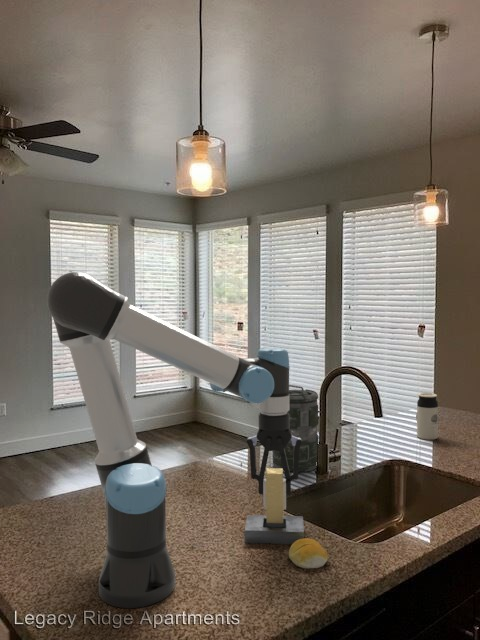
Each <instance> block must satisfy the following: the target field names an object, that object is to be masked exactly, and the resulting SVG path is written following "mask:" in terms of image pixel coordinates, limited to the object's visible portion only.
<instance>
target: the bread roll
mask: <svg viewBox="0 0 480 640" xmlns="http://www.w3.org/2000/svg"><path fill="white" fill-rule="evenodd" d="M288 558H289V559H290V560H291V561H292V563H293V564H294V565H296V566H297V567H300V568H303V569H318V568H319V569H320V568H322V567H323V566H324V565H325V564H326V563H327V561H328V560H329V554H328V552H327V551H326V549H324V548H323V546H322V545H321V544H320V543H319V542H318V541H317V540H316V539H312V538H307V537H306V538H305V537H304V539H299V540H297V541H295V542H294V543H293V544H291V546H290V548H289V550H288Z"/></svg>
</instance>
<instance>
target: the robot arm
mask: <svg viewBox="0 0 480 640" xmlns="http://www.w3.org/2000/svg"><path fill="white" fill-rule="evenodd" d="M46 304H47V309H48V312H49V314H50V315H51V317H52V319H53V323H54V326H55V329H56V333H57V336H58V340H59V343H60V344H61V345H64V346H66V347H68V348H69V351H70V354H71V358H72V362H73V365H74V368H75V372H76V376H77V378H78V383H79V385H80V390H81V393H82V396H83V399H84V404H85V406H86V409H87V414H88V418H89V420H90V424H91V427H92V431H93V434H94V437H95V442H96V445H97V448H98V453H97V455H96V457H95V459H94V463H95V467H96V470H97V474H98V478H99V481H100V485H101V489H102V492H103V497H104V503H105V505H104V506H105V513H106V514H105V518H106V555H105V558H104V562H103V565H102V568H101V571H100V575H99V577H98V595H99V597H100V599H101V600H102V601H103V602H104V603H106V604H108V605H110V606H113V607H117V608H121V609H122V608H123V609H136V608H143V607H149V606H150V605H154V604H156V603H159V602H161V601H162V600H165V599H166V598H167V597H169V596H170V595H171V593H173V591H174V590H175V587H176V572H175V568H174V565H173V563H172V562H173V561H172V560H171V557H170V554H169V550H168V547H167V532H166V531H167V528H166V527H167V526H166V525H167V523H166V522H167V521H166V516H167V514H166V494H167V485H166V484H167V483H166V480H165V479H166V478H165V475H164V473H163V471H162V470H161V469H160V468H158V467H157V466H155V465H152V462H151V461H152V460H151V457H150V454H149V450H148V447H147V444H146V443H145V442H144V441H142V440H140V439H138V437H137V433H136V429H135V426H134V423H133V419H132V416H131V411H130V408H129V406H128V405H129V404H128V402H127V398H126V394H125V390H124V387H123V383H122V379H121V377H120V373H119V368H118V365H117V362H116V358H115V355H114V351H113V346H112V343H111V340H115V341H117V342H119V343H122V344H124V345H126V346H128V347H131V348H132V349H135V350H137V351H139V352H142V353H144V354H146V355H148V356H150V357H152V358H155V359H157V360H158V361H161V362H163V363H166V364H168V365H170V366H172V367H174V368H176V369H179V370H180V371H184V372H186V373H187V374H190V375H192V376H193V377H197V378H199V379H201V380H203V381H205V382H207V383H209V387H210V389H211V391H213V392H220V393H221V392H222V393H226V392H229V393H230V394H233V395H236V396H237V397H240V398H241V399H243V400H244V401H245V402H249V403H254V404H257V405H258V411H259V413H258V431H257V432H256V433H257V434H256V435H254V436H248V437H247V439H246V443H247V446H248V448H249V459H250V462H249V463H250V464H249V465H250V478H251V479H252V480H256V481H258V494H259V495H263V502H262V503H263V505H262V506H263V510H266V478H265V476H266V470H267V463H268V460H269V454H270V452H273V450H275V451H279V452H280V456H281V461H282V466H283V470H284V471H283V476H284V478H283V510H287V496H288V495H289V496H290V495H291V492H292V487H291V486H292V485H291V484H292V481H297V480H298V479H299V471H298V465H299V448H300V446H301V443H302V440H301V438H300V437H298V438H297V437H295V436H292V434H291V432H290V415H289V413H288V411H289V390H290V387H289V385H290V369H291V366H290V357H289V352H288V350H287V349H285V348H282V347H281V348H280V347H279V348H278V347H267V348H266V347H265V348H260V349H258V351H257V354H256V356H255V357H250V358H249V357H246V358H242V357H240V356H238V355H236V354H233V353H232V352H230V351H227V350H225V349H223V348H221V347H220V346H217V345H215V344H213V343H211V342H209V341H207V340H204V339H203V338H201V337H198V336H196V335H194V334H192V333H191V332H188V331H186V330H185V329H182V328H180V327H178V326H176V325H174V324H172V323H170V322H168V321H166V320H163V319H161V318H159V317H158V316H155V315H153V314H151V313H149V312H147V311H146V310H143V309H141V308H139V307H137V306H134V305H133V304H131V303H130V302H129V299H128V296H125V295H123V294H121V293H120V292H118V291H116V290H114V289H112V288H111V287H109V286H107V285H106V284H105V283H103V282H102V281H100V280H99V279H97V278H96V277H95V276H93V275H92V274H89V273H86V272H80V271H72V272H67V273H65V274H63V275H61V276H59V277H57V279H55V280H54V282H52V284H51V286H50V287H49V289H48V291H47V295H46ZM290 440H291V441H292V445H293V446H294V457H293V471H292V473H291V471H289V467H288V462H287V458H286V453H285V447H286V445H287V444H288V443H289V441H290ZM258 442H259V444H261V446H262V447H263V448H264V449H263V453H262V459H261V464H260V469H259V472H257V457H256V456H257V455H256V453H257V452H256V446H257V444H258Z"/></svg>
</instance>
